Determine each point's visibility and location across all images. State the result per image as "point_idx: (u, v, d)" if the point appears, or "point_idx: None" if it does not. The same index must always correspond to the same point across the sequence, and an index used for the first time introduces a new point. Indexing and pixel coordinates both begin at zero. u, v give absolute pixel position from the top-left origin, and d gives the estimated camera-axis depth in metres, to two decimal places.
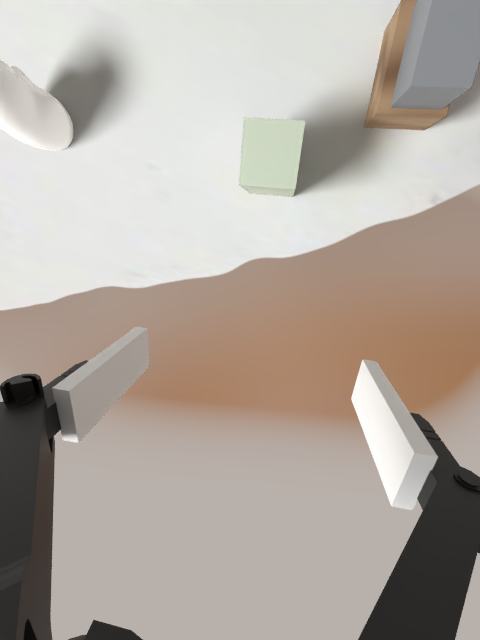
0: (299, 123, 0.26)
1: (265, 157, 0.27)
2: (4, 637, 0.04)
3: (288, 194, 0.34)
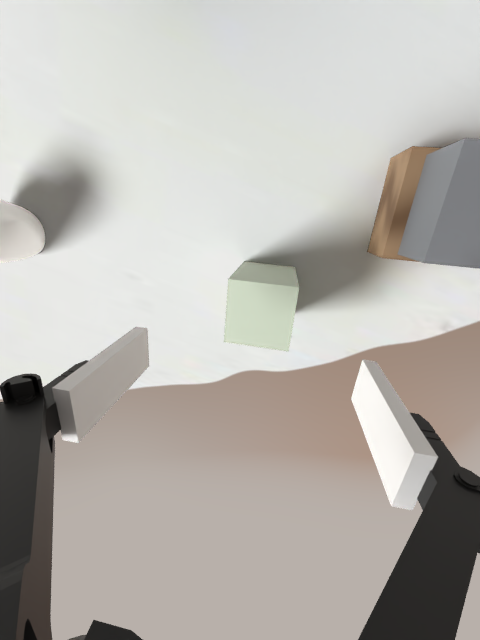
0: (292, 289, 0.22)
1: (253, 318, 0.24)
2: (4, 637, 0.04)
3: None
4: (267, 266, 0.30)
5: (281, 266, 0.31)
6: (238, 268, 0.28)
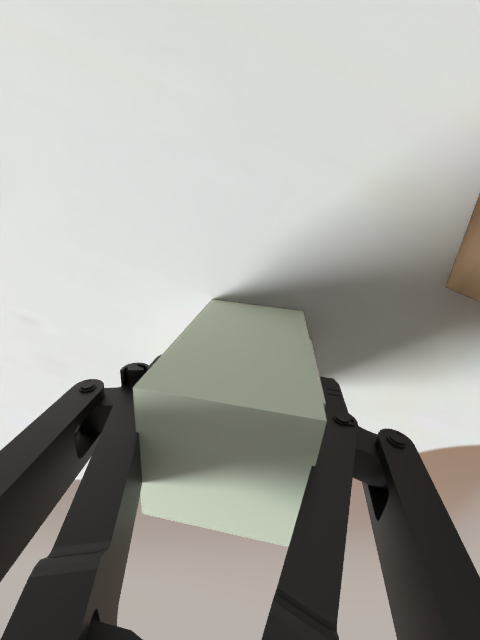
0: (306, 425, 0.08)
1: (205, 477, 0.09)
2: (73, 624, 0.04)
3: None
4: (251, 313, 0.16)
5: (278, 311, 0.16)
6: (188, 326, 0.13)
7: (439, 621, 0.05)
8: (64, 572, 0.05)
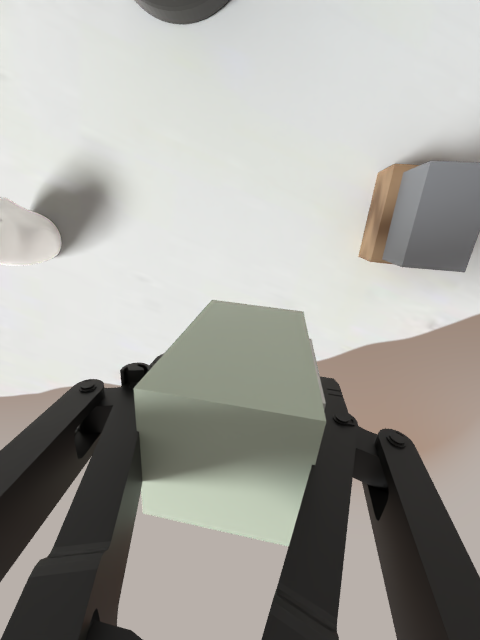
0: (306, 425, 0.08)
1: (205, 477, 0.09)
2: (73, 624, 0.04)
3: None
4: (252, 314, 0.16)
5: (278, 312, 0.17)
6: (188, 327, 0.13)
7: (439, 621, 0.05)
8: (64, 572, 0.05)
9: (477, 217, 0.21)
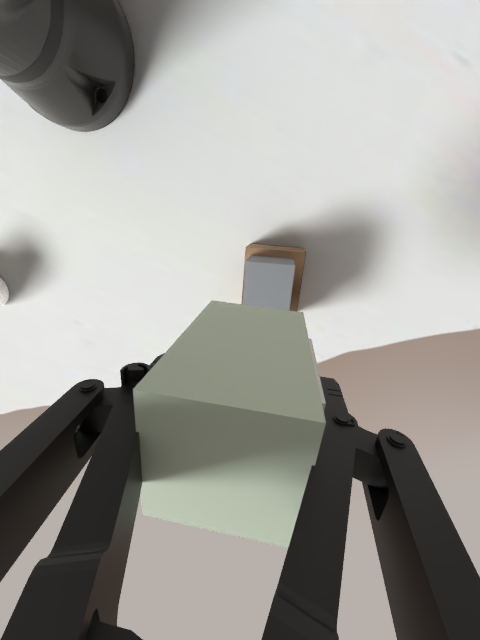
0: (306, 427, 0.08)
1: (205, 478, 0.09)
2: (72, 625, 0.04)
3: None
4: (251, 315, 0.16)
5: (278, 313, 0.17)
6: (188, 328, 0.13)
7: (439, 621, 0.05)
8: (64, 572, 0.05)
9: (285, 300, 0.28)
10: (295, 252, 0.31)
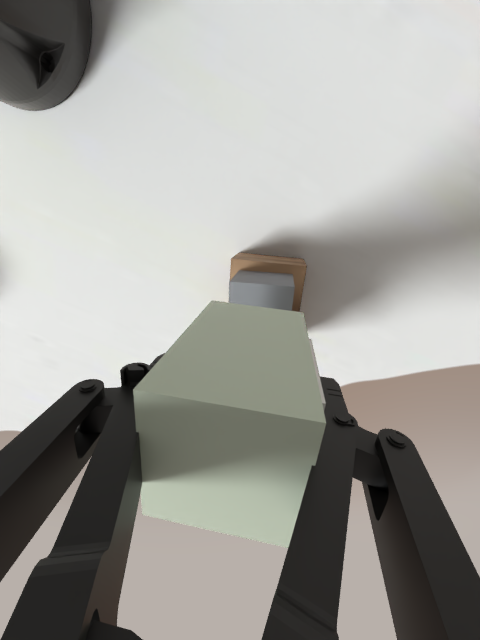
0: (306, 427, 0.08)
1: (205, 478, 0.09)
2: (73, 624, 0.04)
3: None
4: (251, 315, 0.16)
5: (278, 313, 0.17)
6: (188, 328, 0.13)
7: (439, 621, 0.05)
8: (64, 572, 0.05)
9: None
10: (293, 266, 0.24)
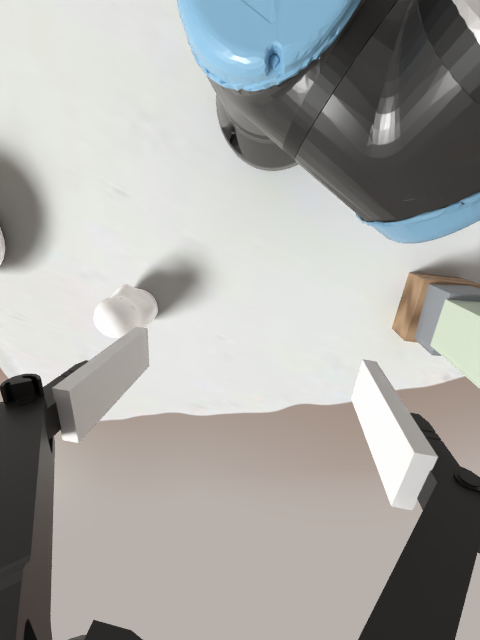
0: None
1: None
2: (4, 637, 0.04)
3: None
4: None
5: None
6: (472, 312, 0.27)
7: None
8: None
9: None
10: (472, 285, 0.35)
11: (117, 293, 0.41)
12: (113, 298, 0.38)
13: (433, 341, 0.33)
